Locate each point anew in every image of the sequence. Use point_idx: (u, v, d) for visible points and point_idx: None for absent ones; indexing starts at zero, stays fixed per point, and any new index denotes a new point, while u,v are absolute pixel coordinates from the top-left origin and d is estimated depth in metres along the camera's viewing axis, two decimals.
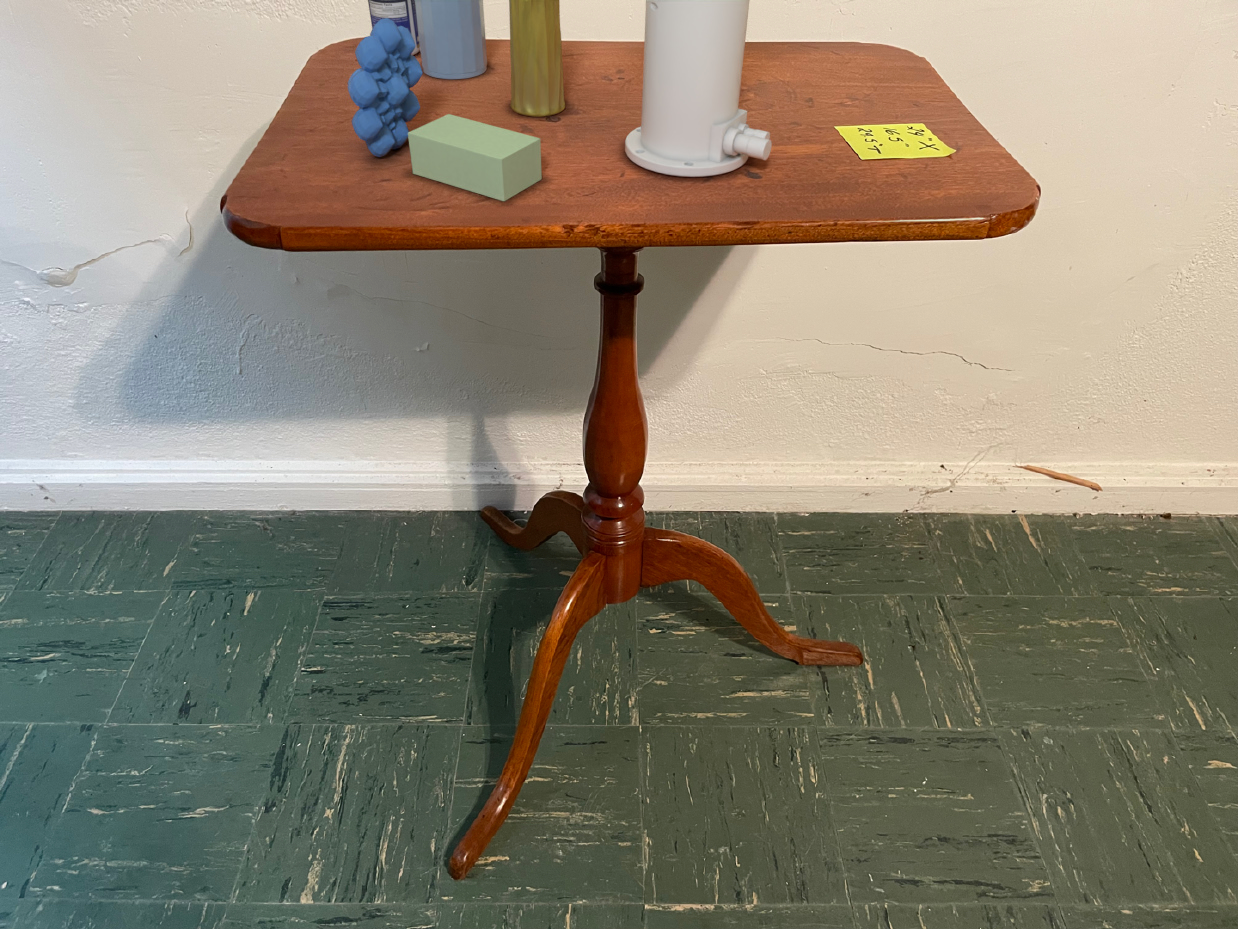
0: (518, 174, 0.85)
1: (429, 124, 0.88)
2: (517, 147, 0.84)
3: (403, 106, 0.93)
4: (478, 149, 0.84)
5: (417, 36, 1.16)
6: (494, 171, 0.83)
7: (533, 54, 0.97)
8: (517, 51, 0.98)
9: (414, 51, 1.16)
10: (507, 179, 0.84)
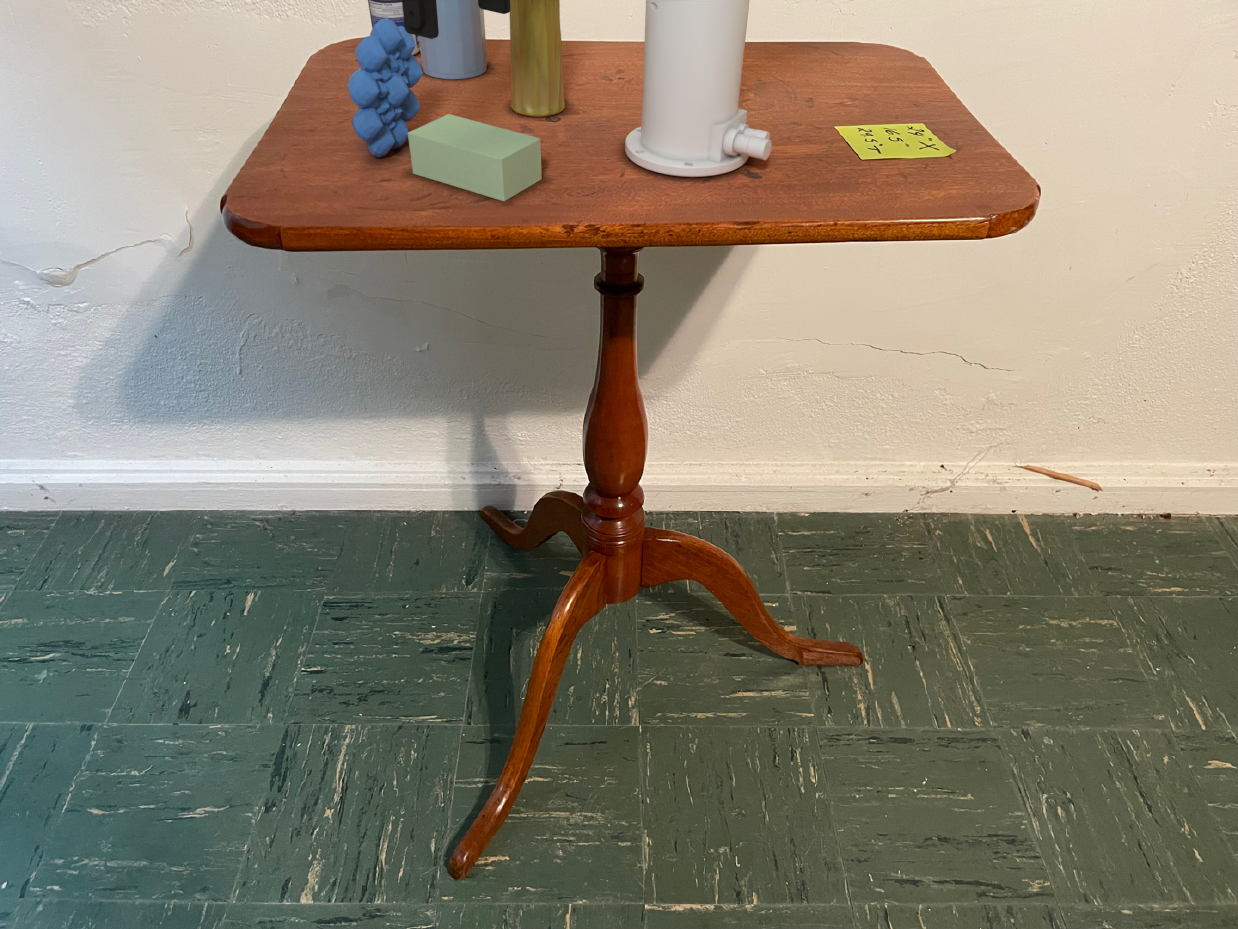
0: (518, 174, 0.85)
1: (429, 124, 0.88)
2: (517, 147, 0.84)
3: (403, 106, 0.93)
4: (478, 149, 0.84)
5: (417, 36, 1.16)
6: (494, 171, 0.83)
7: (533, 54, 0.97)
8: (517, 51, 0.98)
9: (414, 51, 1.16)
10: (507, 179, 0.84)
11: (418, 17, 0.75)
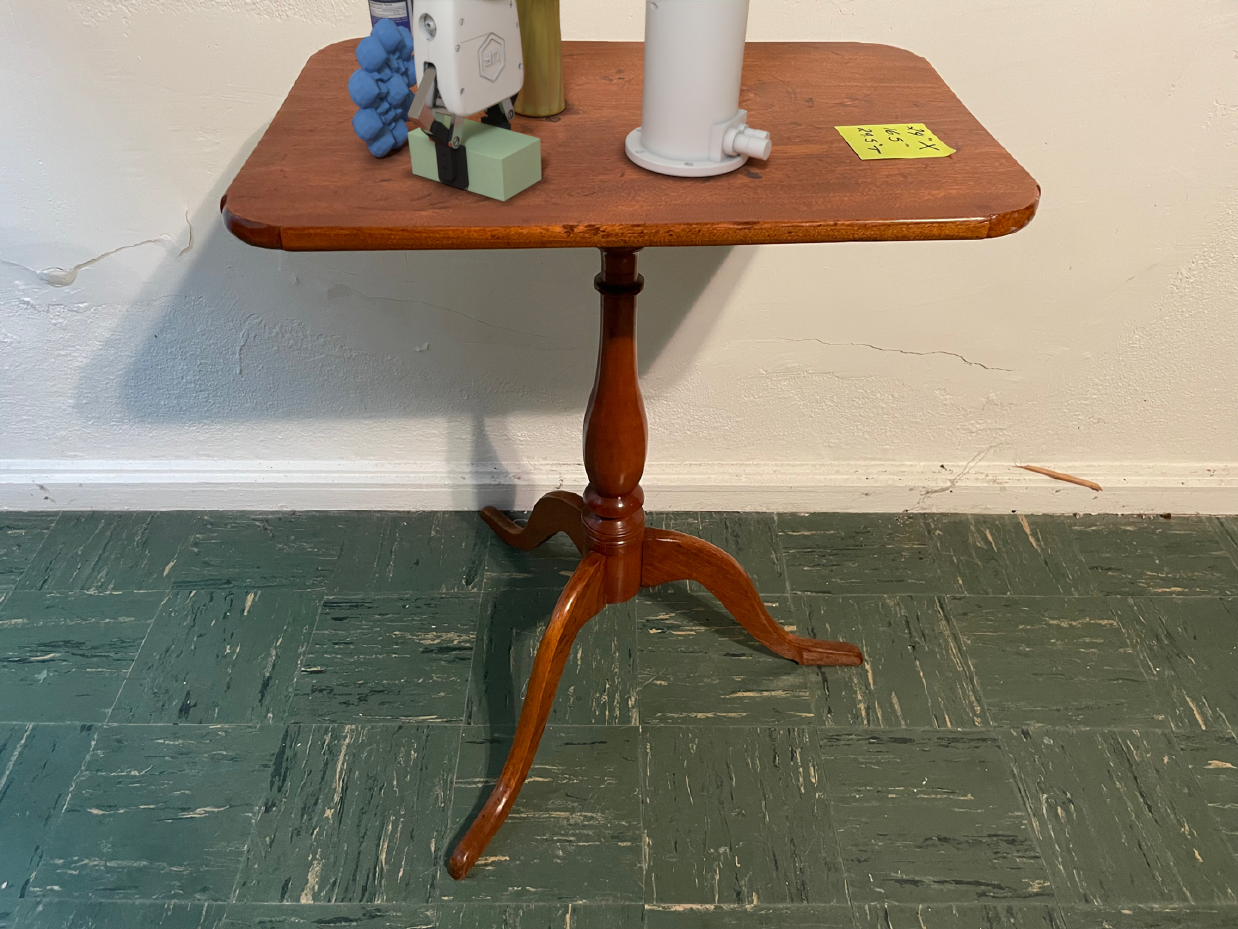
0: (518, 173, 0.85)
1: None
2: (517, 147, 0.84)
3: (403, 106, 0.93)
4: (478, 148, 0.84)
5: None
6: (494, 170, 0.83)
7: (533, 54, 0.97)
8: None
9: None
10: (507, 179, 0.84)
11: (451, 172, 0.84)
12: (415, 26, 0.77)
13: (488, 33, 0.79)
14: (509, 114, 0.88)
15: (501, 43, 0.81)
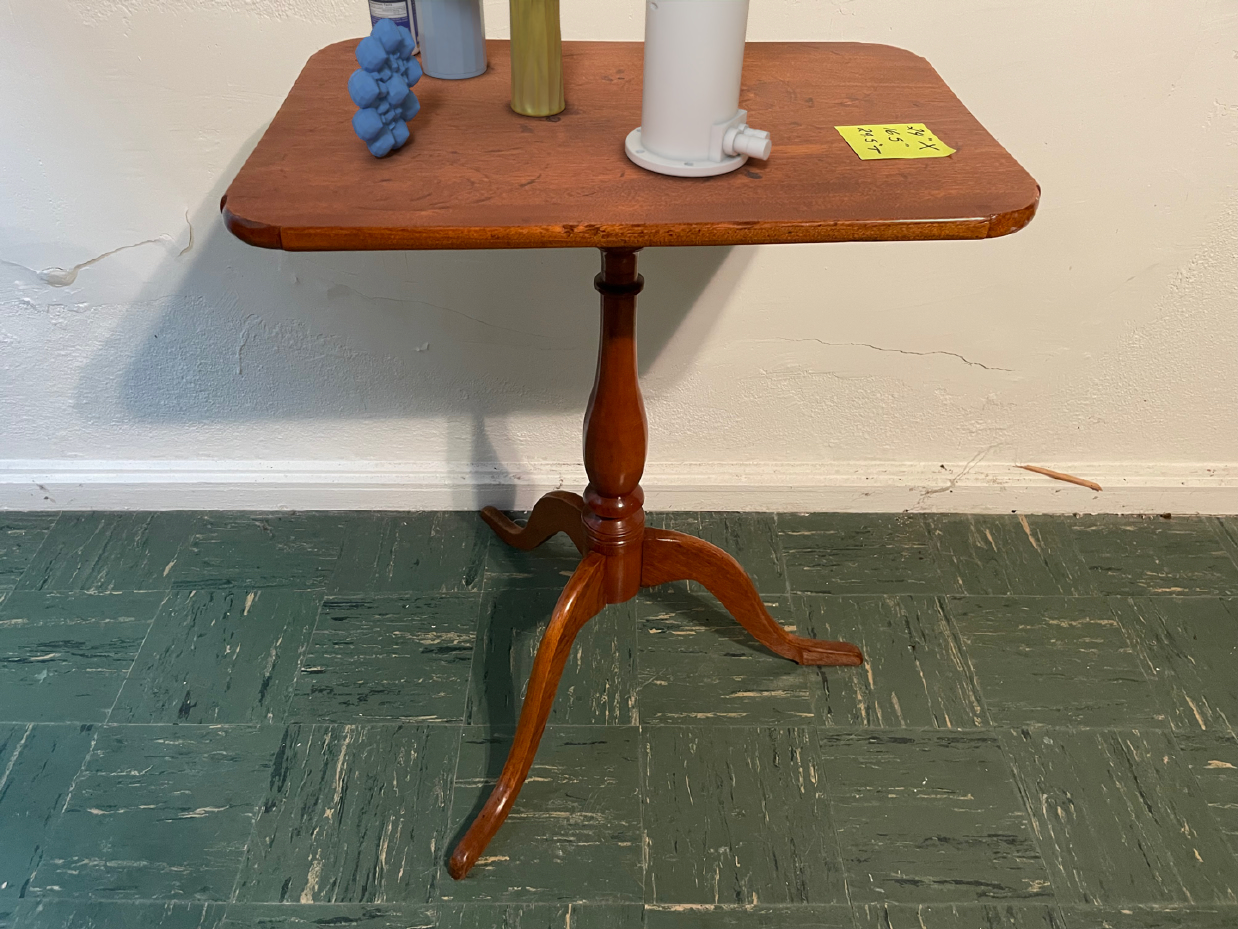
0: None
1: None
2: None
3: (403, 106, 0.93)
4: None
5: (417, 36, 1.16)
6: None
7: (533, 54, 0.97)
8: (517, 51, 0.98)
9: (414, 51, 1.16)
10: None
11: None
12: None
13: None
14: None
15: None
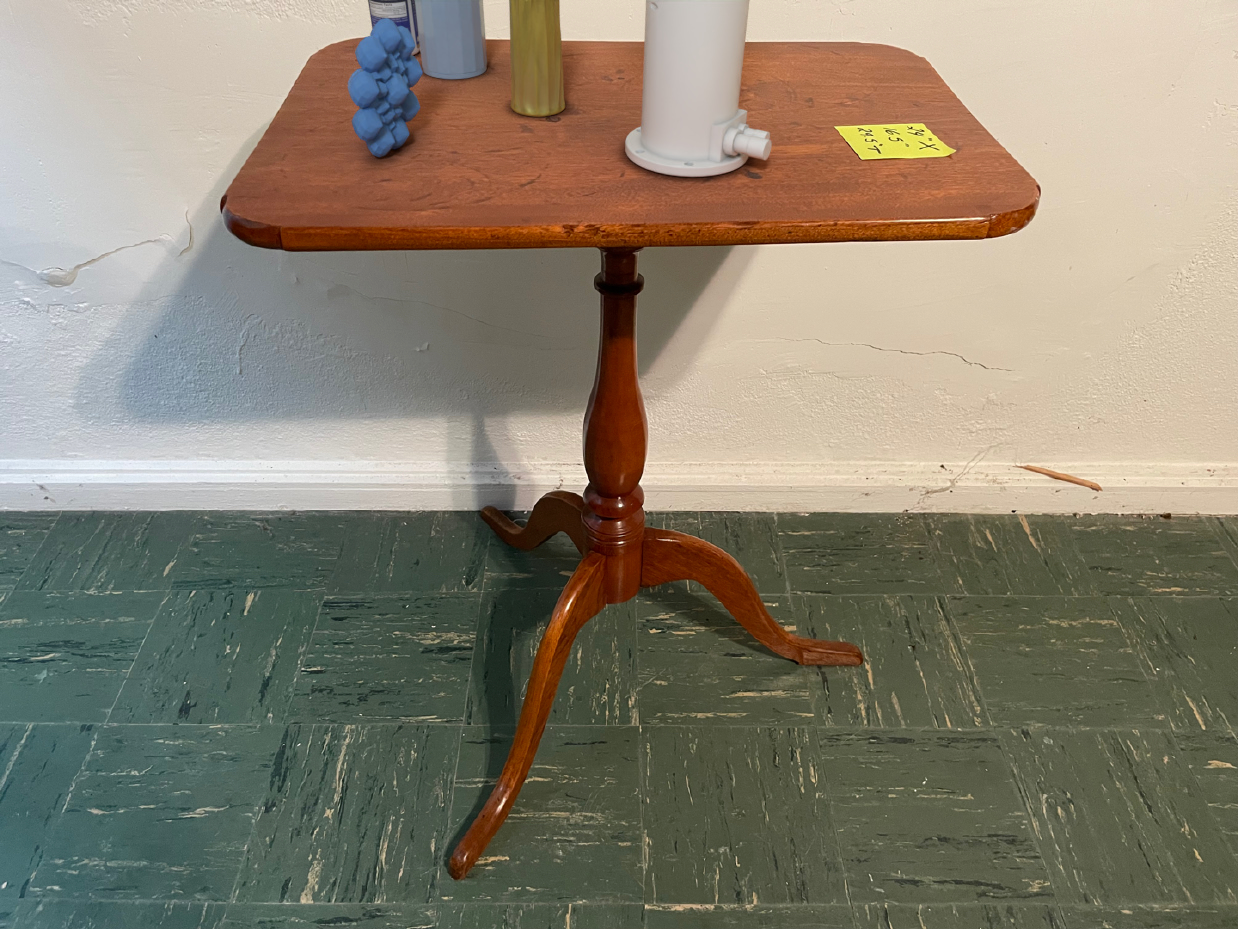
0: None
1: None
2: None
3: (403, 106, 0.93)
4: None
5: (417, 36, 1.16)
6: None
7: (533, 54, 0.97)
8: (517, 51, 0.98)
9: (414, 51, 1.16)
10: None
11: None
12: None
13: None
14: None
15: None
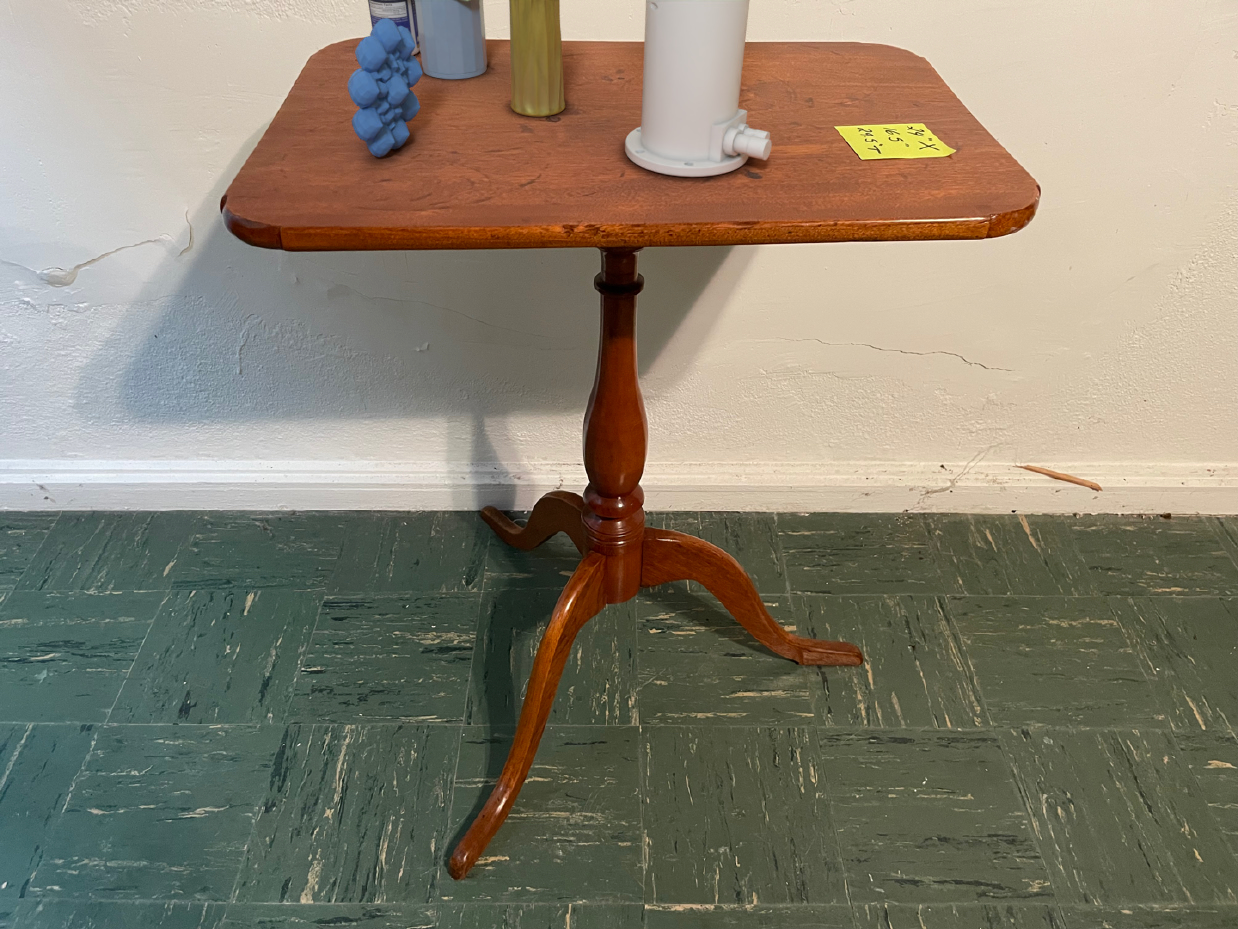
0: None
1: None
2: None
3: (403, 106, 0.93)
4: None
5: (417, 36, 1.16)
6: None
7: (533, 54, 0.97)
8: (517, 51, 0.98)
9: (414, 51, 1.16)
10: None
11: None
12: None
13: None
14: None
15: None
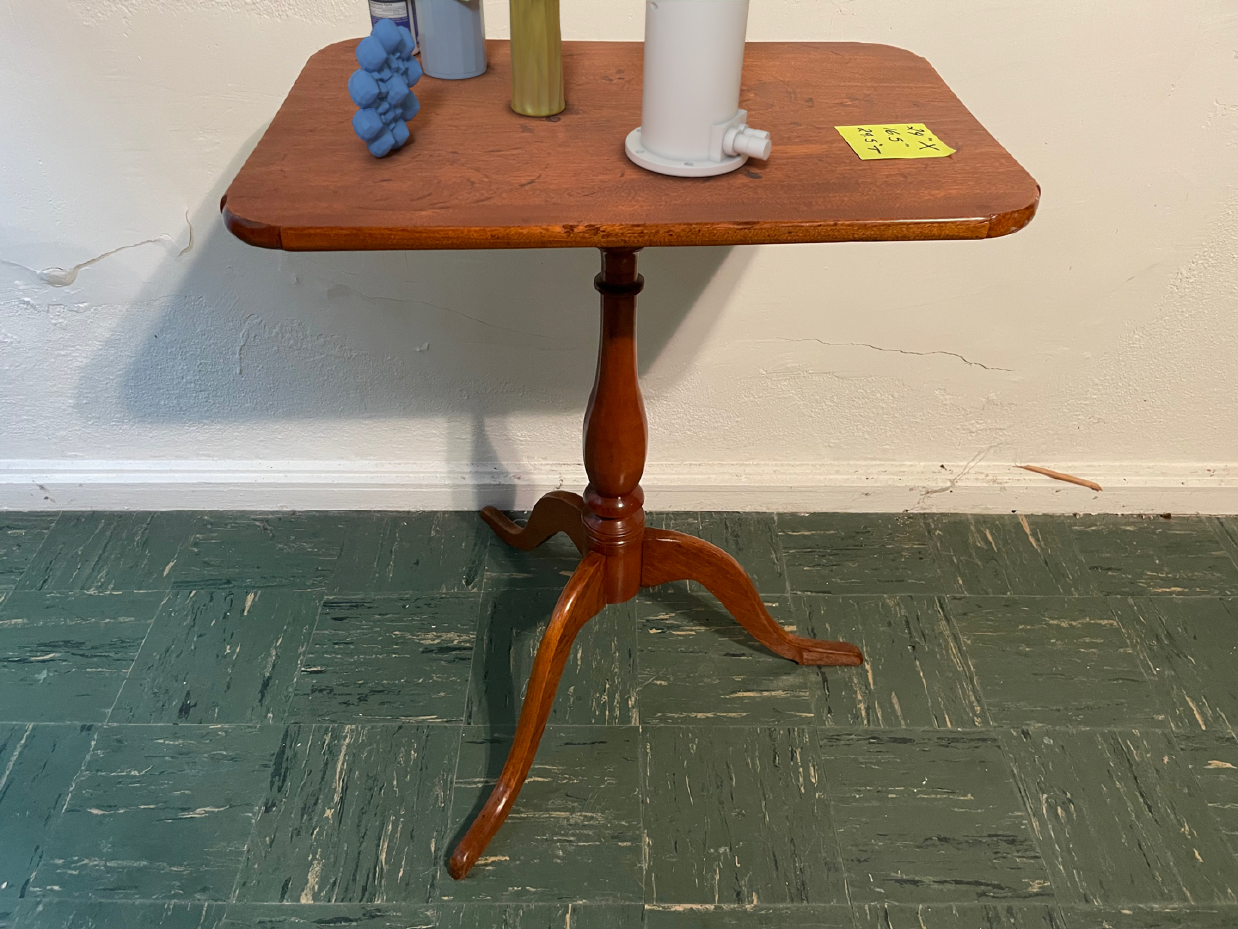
0: None
1: None
2: None
3: (403, 106, 0.93)
4: None
5: (417, 36, 1.16)
6: None
7: (533, 54, 0.97)
8: (517, 51, 0.98)
9: (414, 51, 1.16)
10: None
11: None
12: None
13: None
14: None
15: None
